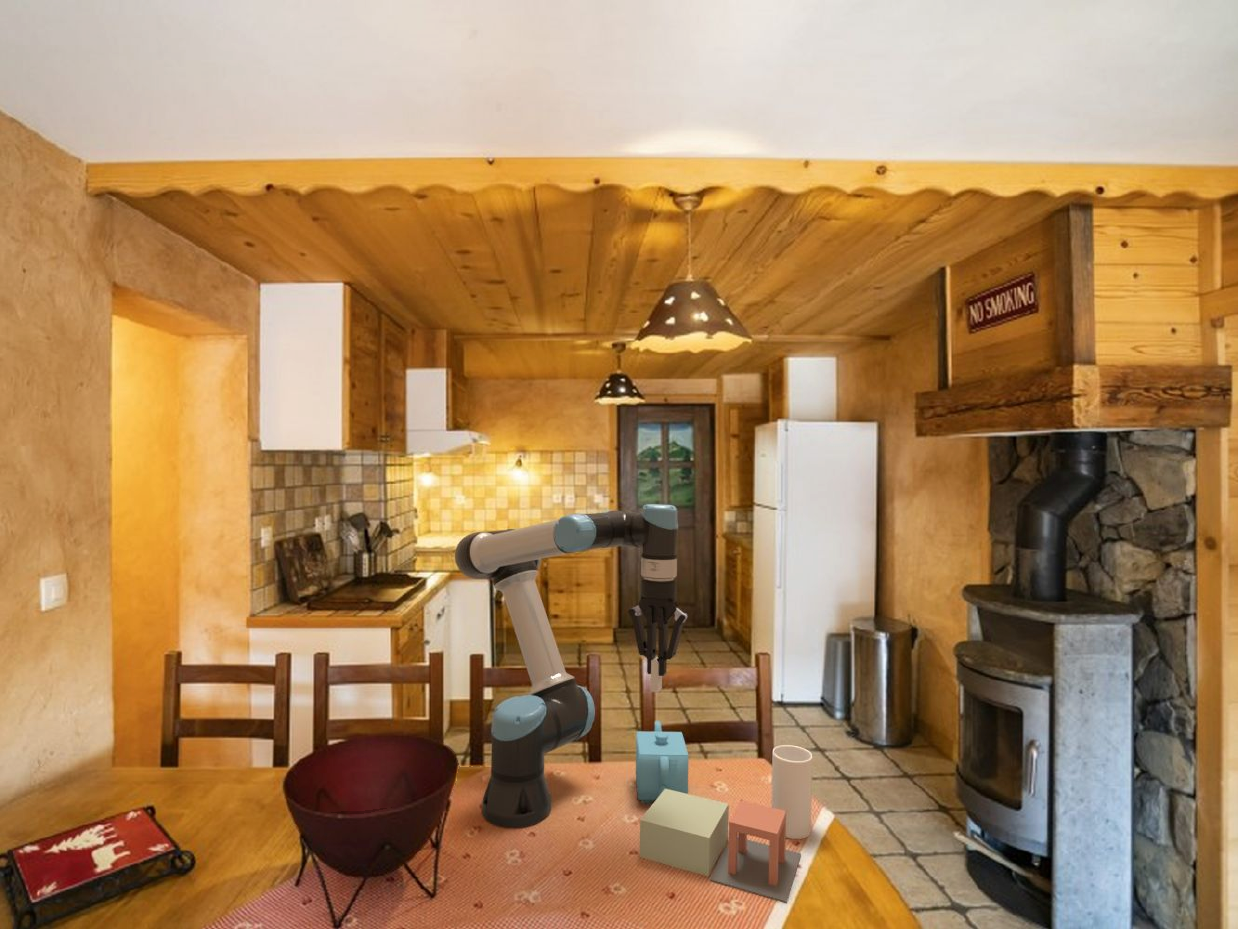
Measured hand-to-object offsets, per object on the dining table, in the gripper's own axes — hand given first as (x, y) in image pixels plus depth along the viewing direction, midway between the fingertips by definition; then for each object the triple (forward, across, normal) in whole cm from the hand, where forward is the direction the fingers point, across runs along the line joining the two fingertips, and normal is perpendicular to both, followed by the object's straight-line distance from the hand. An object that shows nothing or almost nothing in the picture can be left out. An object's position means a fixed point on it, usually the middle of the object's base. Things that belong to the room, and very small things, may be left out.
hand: (656, 690), depth 137 cm
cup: (+30, +26, +14) cm, 42 cm away
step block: (+29, +8, -3) cm, 31 cm away
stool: (+24, +18, -3) cm, 30 cm away
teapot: (+30, -5, +17) cm, 35 cm away
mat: (+29, +22, -3) cm, 37 cm away
